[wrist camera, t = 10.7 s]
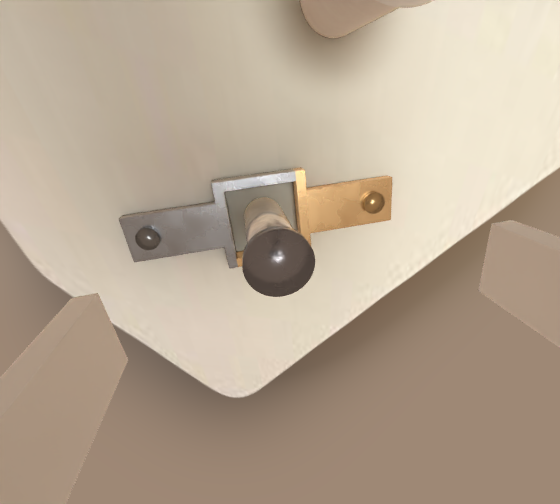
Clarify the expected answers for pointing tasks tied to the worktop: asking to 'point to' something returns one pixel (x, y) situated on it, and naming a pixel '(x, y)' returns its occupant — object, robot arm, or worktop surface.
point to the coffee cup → (349, 13)
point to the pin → (274, 251)
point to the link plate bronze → (339, 204)
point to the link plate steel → (193, 222)
